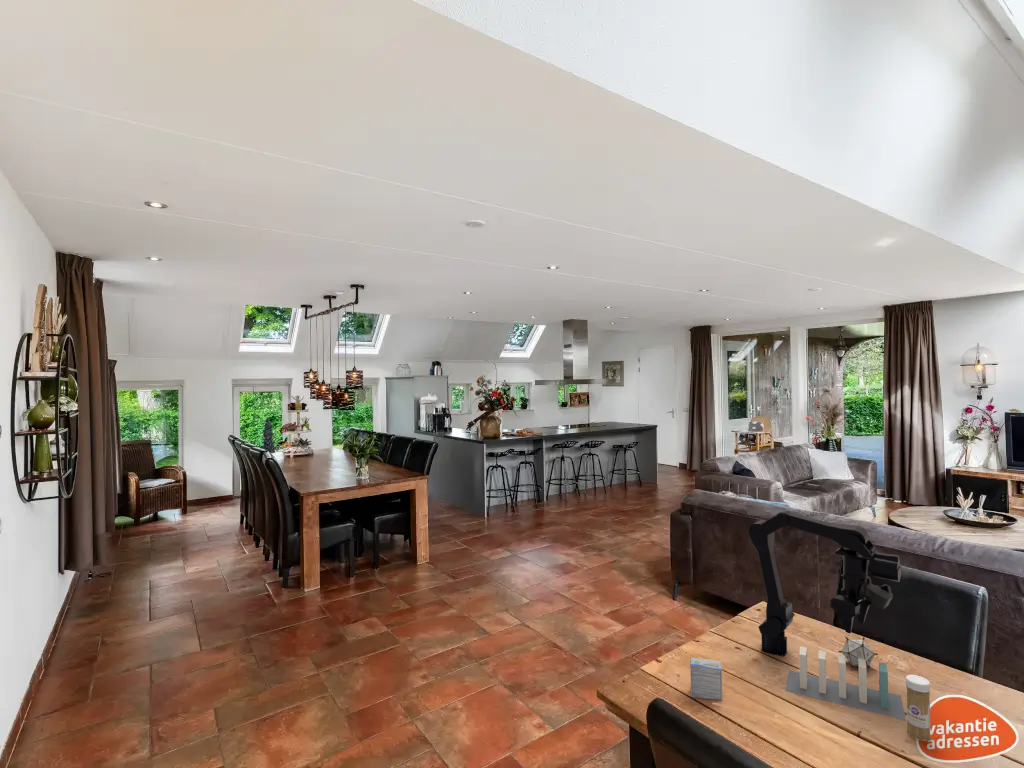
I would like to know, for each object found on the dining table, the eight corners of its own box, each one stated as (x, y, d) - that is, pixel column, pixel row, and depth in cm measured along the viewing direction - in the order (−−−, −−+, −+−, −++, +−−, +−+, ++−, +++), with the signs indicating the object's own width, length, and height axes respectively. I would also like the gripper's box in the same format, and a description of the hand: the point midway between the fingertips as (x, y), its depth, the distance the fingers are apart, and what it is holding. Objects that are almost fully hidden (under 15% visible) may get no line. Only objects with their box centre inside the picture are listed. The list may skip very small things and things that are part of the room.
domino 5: (880, 707, 136) (880, 671, 136) (879, 697, 140) (878, 662, 141) (888, 708, 135) (887, 672, 135) (887, 698, 140) (886, 663, 140)
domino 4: (859, 701, 139) (858, 666, 139) (858, 692, 143) (858, 658, 143) (867, 703, 138) (866, 668, 138) (866, 693, 142) (865, 659, 142)
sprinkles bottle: (905, 738, 125) (904, 679, 125) (907, 728, 129) (906, 671, 129) (931, 746, 122) (929, 686, 122) (932, 736, 126) (930, 678, 126)
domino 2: (819, 692, 143) (818, 658, 143) (819, 683, 147) (819, 650, 147) (826, 693, 142) (825, 659, 142) (826, 684, 147) (825, 651, 147)
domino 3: (839, 697, 141) (838, 662, 141) (839, 687, 145) (838, 654, 145) (846, 698, 140) (845, 663, 140) (846, 689, 144) (845, 655, 144)
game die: (859, 676, 158) (872, 644, 161) (875, 680, 150) (888, 647, 153) (829, 657, 161) (842, 626, 163) (842, 661, 153) (856, 628, 155)
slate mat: (785, 693, 144) (785, 690, 144) (788, 672, 154) (788, 670, 154) (906, 722, 131) (905, 720, 131) (900, 697, 141) (900, 695, 141)
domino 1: (799, 687, 145) (799, 654, 145) (800, 678, 150) (800, 646, 150) (806, 689, 145) (806, 655, 145) (807, 680, 149) (806, 647, 149)
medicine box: (722, 693, 145) (721, 660, 145) (722, 702, 140) (722, 669, 141) (691, 688, 147) (690, 656, 147) (690, 697, 143) (690, 664, 143)
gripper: (876, 589, 139) (875, 649, 140) (900, 573, 151) (900, 628, 151) (829, 577, 148) (829, 633, 148) (855, 562, 160) (855, 615, 160)
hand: (855, 628), depth 152 cm, fingers open, 9 cm apart
